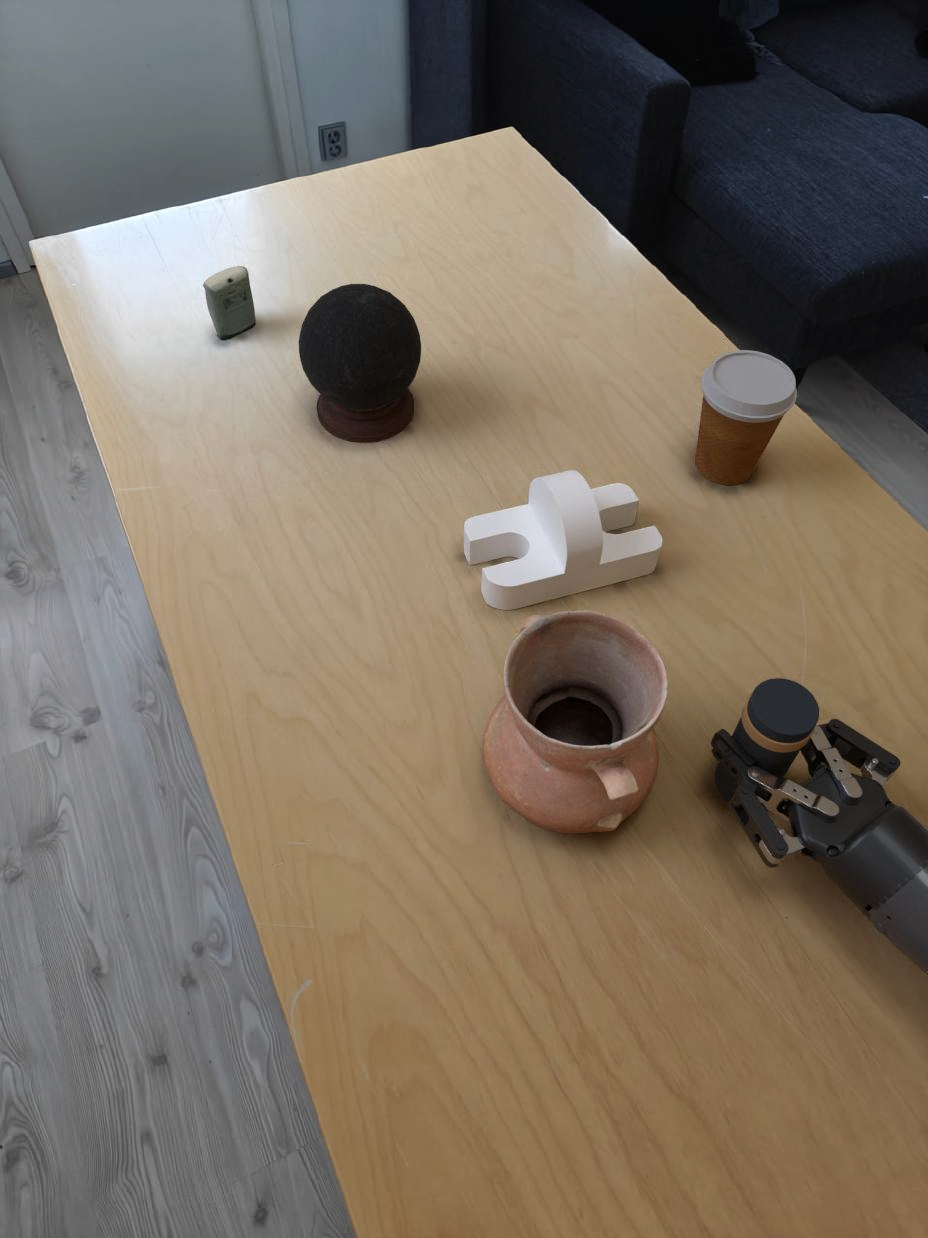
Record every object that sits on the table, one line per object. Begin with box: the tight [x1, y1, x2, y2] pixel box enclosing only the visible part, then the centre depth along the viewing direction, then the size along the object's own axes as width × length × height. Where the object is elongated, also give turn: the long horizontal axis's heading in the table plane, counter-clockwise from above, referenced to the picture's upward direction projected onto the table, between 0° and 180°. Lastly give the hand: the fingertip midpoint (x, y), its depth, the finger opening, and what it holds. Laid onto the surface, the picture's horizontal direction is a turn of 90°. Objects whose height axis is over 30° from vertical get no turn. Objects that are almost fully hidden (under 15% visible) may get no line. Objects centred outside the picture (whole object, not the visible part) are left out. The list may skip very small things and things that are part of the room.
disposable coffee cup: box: [694, 349, 798, 486], centre depth 97 cm, size 10×10×12 cm
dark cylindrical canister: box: [714, 677, 820, 806], centre depth 74 cm, size 5×5×12 cm
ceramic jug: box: [482, 609, 669, 834], centre depth 74 cm, size 18×14×14 cm
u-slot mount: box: [463, 469, 663, 611], centre depth 89 cm, size 18×10×10 cm, turn 109°
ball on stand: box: [298, 283, 422, 443], centre depth 101 cm, size 13×13×15 cm
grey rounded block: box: [202, 265, 257, 341], centre depth 112 cm, size 6×5×8 cm
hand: (741, 719), depth 75 cm, fingers closed on dark cylindrical canister, 5 cm apart
